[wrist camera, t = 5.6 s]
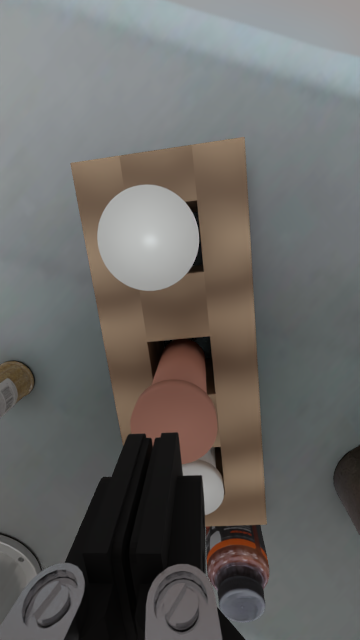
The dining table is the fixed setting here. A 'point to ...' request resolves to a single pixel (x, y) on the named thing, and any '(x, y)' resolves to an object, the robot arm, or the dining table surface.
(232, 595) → the supplement bottle
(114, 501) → the robot arm
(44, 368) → the dining table surface
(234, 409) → the socket board
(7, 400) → the sprinkles bottle
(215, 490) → the grey plug
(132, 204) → the grey plug
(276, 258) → the dining table surface
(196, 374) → the brick plug
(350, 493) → the pillar candle
